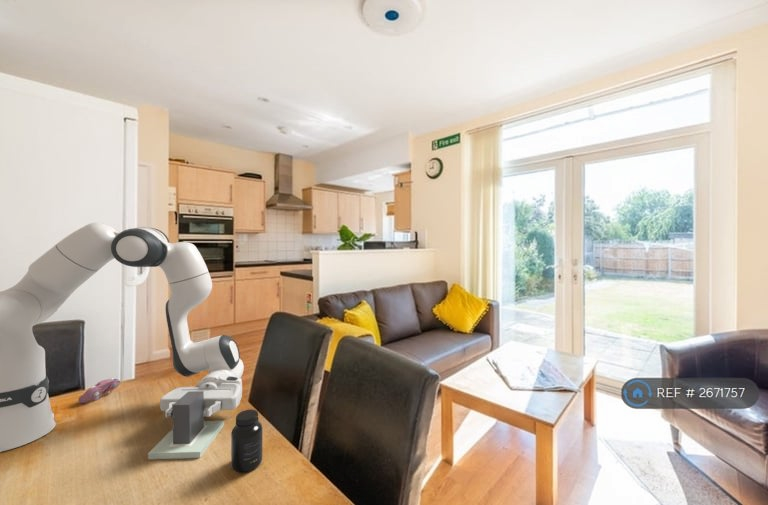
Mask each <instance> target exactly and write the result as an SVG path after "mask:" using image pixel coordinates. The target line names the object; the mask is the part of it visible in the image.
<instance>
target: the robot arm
mask: <svg viewBox="0 0 768 505" xmlns="http://www.w3.org/2000/svg"><path fill="white" fill-rule="evenodd" d="M114 259H115V260H116V261H117V262H118V263H120V264H122V265H125V266H128V267H132V268H155V267H159V268H160V269H162V271H163V273H164V274H165V276H166V279H167V282H168V285H169V289H170V296H169V299H168V300H167V301H166V303H165V317H166V323H167V324H166V325H167V328H168V334H169V339H170V344H171V350H172V366H173V369H174V370H175V372H177V373H178V374H179V375H181V376H182V377H186V378H187V377H191V376H194V375H195V376H196V375H197V374H199V373H202V372H205V371H208V373H207V374H206V375H205V376H204V377H203V378H201V379H200V380H199V381H198V382H197V383H196V385H195V386H179V387H177V388H174V389H172V390H171V391H169V392H167V393H165V394H164V395H163V396H162V397H161V398H160V400H159V408H160V410H161V411H162V412H165V413H164V414H165V415H164V416H165V418H173V404H175V403H176V402H177V401H178V400H179V399H180V398H181V397H183V396H184V395H185V394H186V393H187V392H190V391H204V411H203V413H204V415H203V416H204V418H205V417H211V416H212V415H213V414H214V413H217V412H220V411H232V410H235V409H237V408H238V406H239V405H240V403H241V399H242V398H243V397H242V396H243V381H242V376H243V373H244V368H245V365H244V362H243V360H242V359H241V356H240V355H241V354H240V349H239V347H238V344H237V342H236V341H235V340H234V338H232V337H230V335H227V334H221V335H219V336H218V335H217V336H214V337H210V338H206V339H203V340H200V341H195V342H194V341H193V340H191V335H190V329H189V323H188V316H189V313H190V312H191V311H192V310H193V309H195V308H196V307H197V306H199V305H200V304H202V303H203V302H204V301H205V300H207V299H208V297H209V296H210V294H211V293H212V291H213V290H212V289H213V282H212V281H213V280H212V277H211V274H210V272H209V270H208V266H207V264H206V262H205V260H204V258H203V256H202V254H201V252H200V251H199V249H198V248H197V246H196V245H195V244H193V243H191V242H187V241H179V242H174V243H173V242H170V240H169V238H168V236H167V235H166V234H165V233H164V232H163V231H161V230H160V229H157V228H154V227H147V226H146V227H145V226H140V227H139V226H138V227H134V228H128V229H124V230H123V231H118V230H117V229H116V228H114V227H113V226H111V225H109V224H105V223H103V222H91V223H88V224H86V225H84V226H82V227H80V228H78V229H77V230H75V231H73V232H72V233H70V234H69V235H67V236H66V237H64V238H62V239H61V240H60V241H58V242H57V243H56V244H54V245H53V246H52V247H51V248H50V249H48V250H47V251H45V253H43V254H42V255H41V256H39V257H38V258H37V259H35V260H34V261H33V262H32V263H31V264H30V265H29V266H28V270H27V272H26V273H25V274H24V276H23V277H22V278H21V279H20V280H19V282H17V283H16V284H15V285H13V286H12V287H9V288H8V289H4V290H3V291H0V453H2V452H5V451H9V450H12V449H15V448H18V447H22V446H24V445H27V444H29V443H32V442H35V441H36V440H38V439H40V438H43V436H45V435H47V434H49V433H50V432H51V431H53V429H55V427H56V426H57V424H56V421H55V414H54V412H52V407H51V403H50V397H49V393H48V392H49V389H50V388H49V382H50V380H49V377H48V376H47V375H46V374H47V373H46V372H47V371H46V350H45V347H43V346H41V345H40V344H39V343H38V342H37V340H36V337H35V335H34V332H33V327H34V326H36V325H39V324H41V323H43V322H45V321H47V320H48V319H49V318H50V317H52V316H53V315H55V314H56V312H57V311H58V309H59V308H60V307H62V305H63V304H64V303H65V302H66V301H67V300H68V298H70V296H71V295H72V294H73V293H74V292H75V291H76V290H77V289H78V288H79V287H81V286H82V285H83V284H85V282H86V281H88V280H89V279H90V278H91V277H92V276H94V275H95V274H96V273H97V272H98V271H99V270H101V269H102V268H103V267H104V266H106V264H107V263H109V262H110V261H112V260H114Z"/></svg>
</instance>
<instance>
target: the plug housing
mask: <svg viewBox="0 0 768 505" xmlns="http://www.w3.org/2000/svg"><path fill="white" fill-rule="evenodd" d="M203 411H204V391H190V392H187V393H186V394H185V395H184V396H183V397H181V398H180V399H179V400H178V401H177V402H176V403H175V404H173V417H172V429H173V444H190V443H191V442H192V441H193V439H194V438H195V437H196V436H197V435H198V433H199V432H200V431H201V430H202V429H203V427H204V421H205V417H204V416H203V415H204V413H203Z"/></svg>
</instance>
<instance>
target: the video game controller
mask: <svg viewBox="0 0 768 505" xmlns="http://www.w3.org/2000/svg"><path fill="white" fill-rule="evenodd" d="M120 384H121V380H120V379H117V378H115V377H111V378H107V379H103V380H100V381H99V382H97V383H96V384H94V385H92V386H91V387H90V388H89V387H88V389H87V390H86V391H85V392H84V393H83V394H82V395H80V396H79V397H78V403H79V404H86V403H87V402H89V401H91V400H93V401H94V402H95V401H98V400H100V399H101V398H102V396H104V397H106V396H109V395H110V394H111V393H112V392H113V391H114V390H115V389H117V387H119V385H120Z"/></svg>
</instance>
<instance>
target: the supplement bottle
mask: <svg viewBox="0 0 768 505" xmlns="http://www.w3.org/2000/svg"><path fill="white" fill-rule="evenodd" d="M230 436H231V437H230V438H231V439H230V443H231V444H230V447H231V448H230V451H231V452H230V454H231V456H230V458H231V459H230V460H231V461H230V462H231V464H230V465H231V469H232V470H233V471H234V472H235V473H237V474H247V473H249V472H252V471H254V470H256V468H258V467H259V466H260V465H261V463H262V461H263V424H262V422H260V420H259V412H258V410H256V409H252V408H251V409H245V410H242V411H240V412H239V413H237V415H236V417H235V425H234V426H233V428H232V430H231V433H230Z"/></svg>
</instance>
